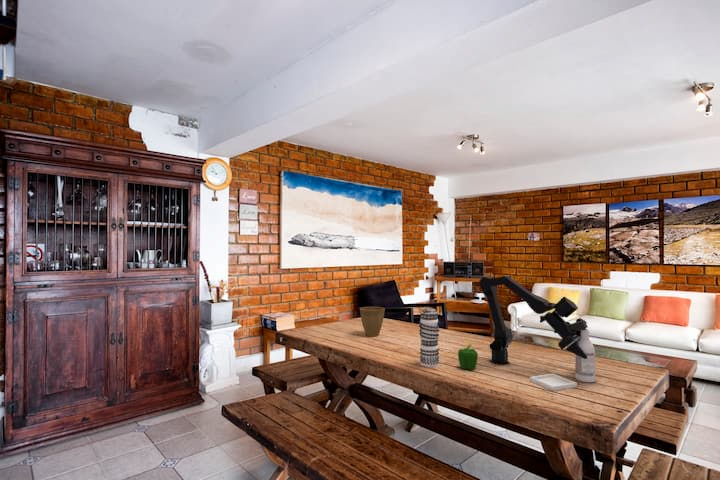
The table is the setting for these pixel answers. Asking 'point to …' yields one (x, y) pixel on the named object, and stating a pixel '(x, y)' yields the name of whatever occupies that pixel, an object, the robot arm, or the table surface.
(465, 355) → the bell pepper
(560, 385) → the tray
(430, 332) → the leaning tower model
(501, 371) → the table surface
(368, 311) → the plant pot
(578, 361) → the bath foam
